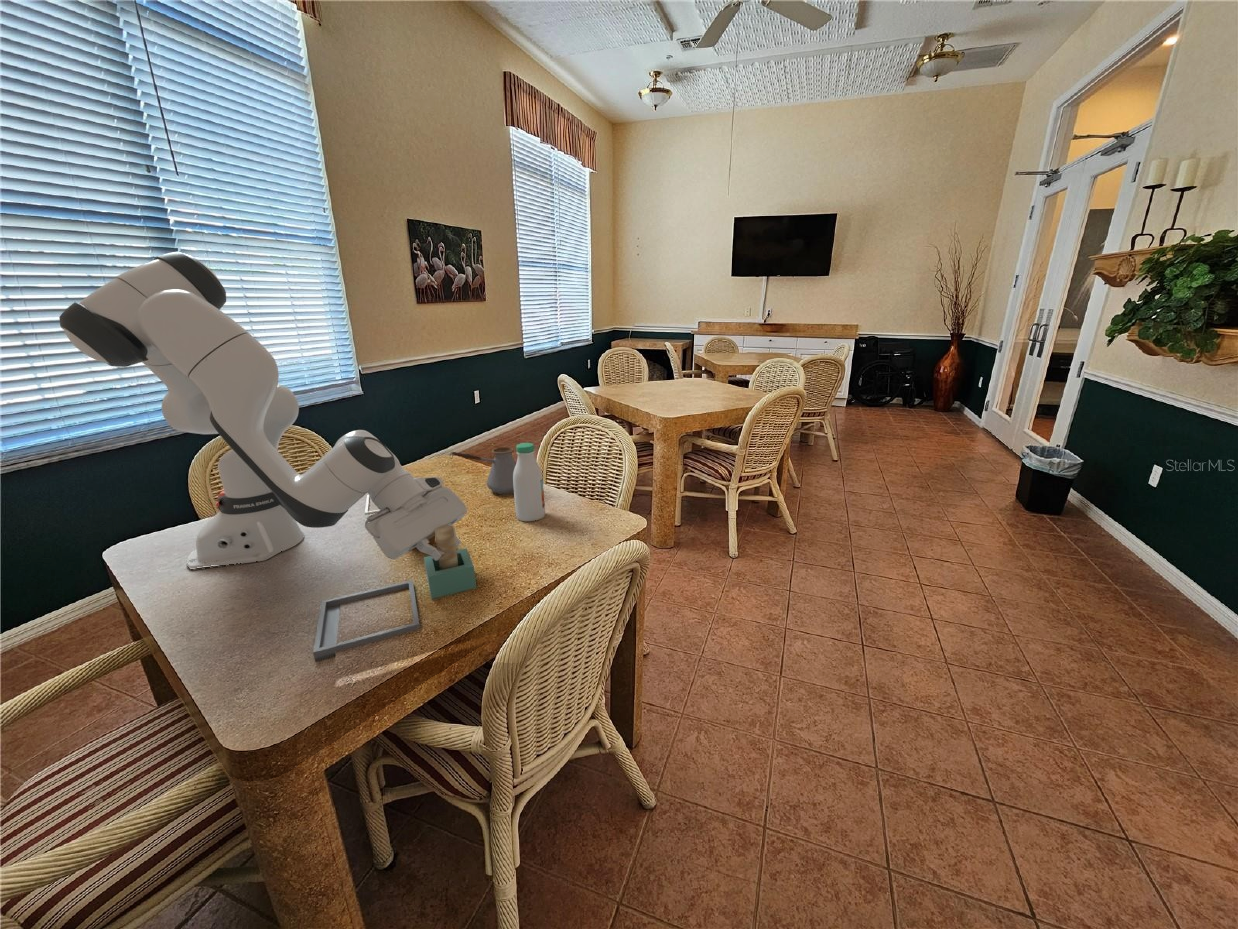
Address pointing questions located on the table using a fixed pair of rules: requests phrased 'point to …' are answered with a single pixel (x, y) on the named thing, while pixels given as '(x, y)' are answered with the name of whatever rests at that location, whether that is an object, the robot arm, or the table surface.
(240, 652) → the table surface
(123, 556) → the table surface
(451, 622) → the table surface
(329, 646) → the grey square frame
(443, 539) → the wooden dowel
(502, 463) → the coffee pot
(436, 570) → the ceramic holder
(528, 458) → the milk bottle
